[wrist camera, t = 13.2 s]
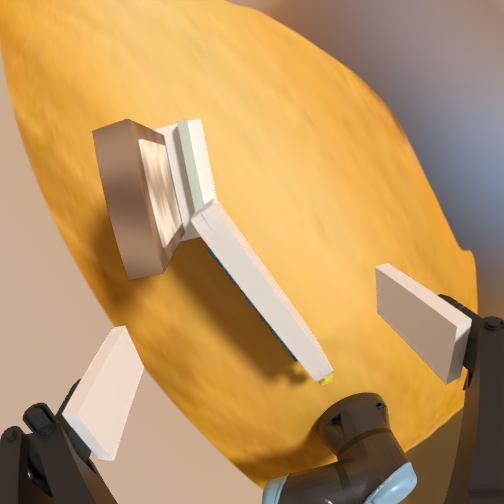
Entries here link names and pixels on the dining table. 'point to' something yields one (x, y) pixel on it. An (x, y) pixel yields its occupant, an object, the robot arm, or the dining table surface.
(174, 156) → the panel
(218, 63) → the dining table surface
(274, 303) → the decorative sign
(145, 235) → the brown picture frame
